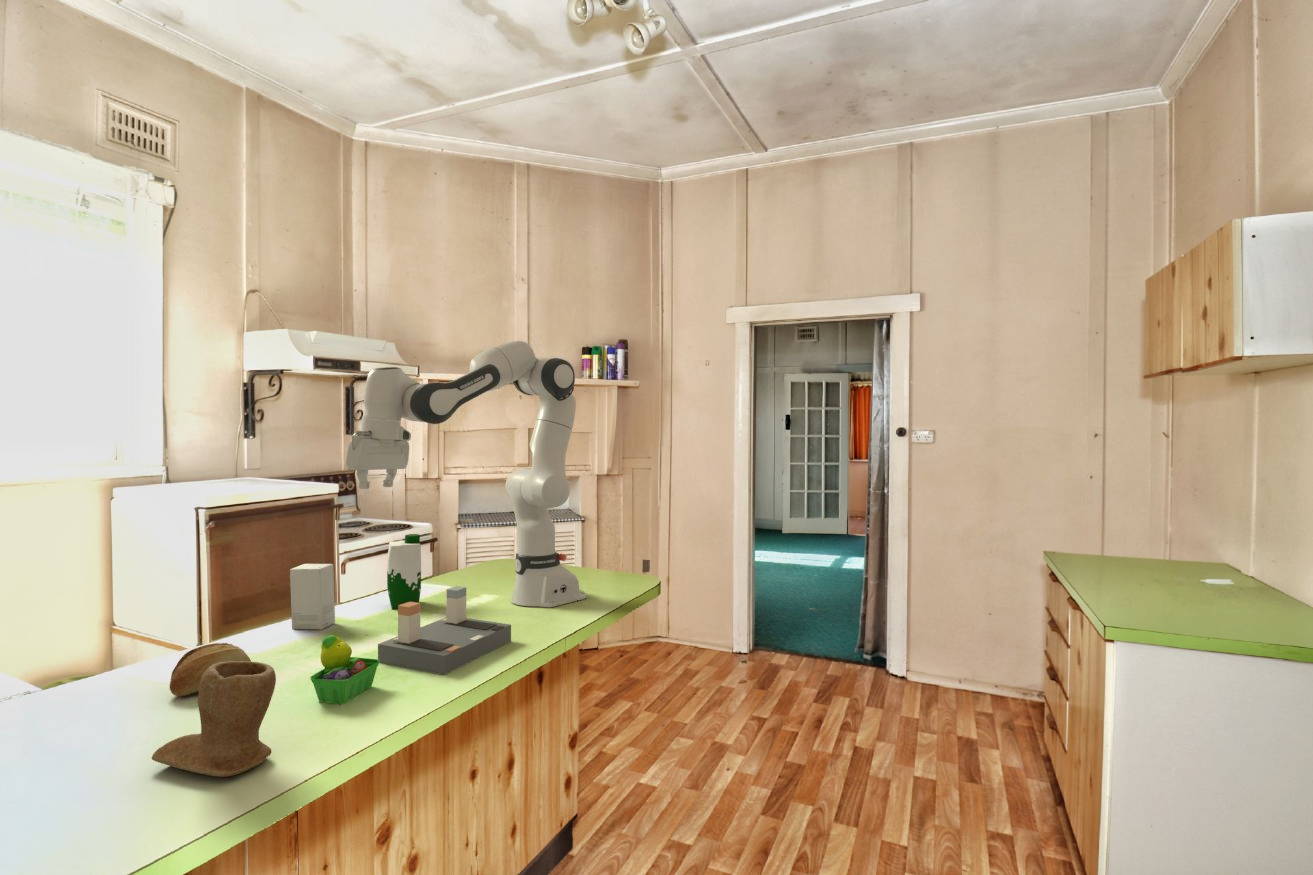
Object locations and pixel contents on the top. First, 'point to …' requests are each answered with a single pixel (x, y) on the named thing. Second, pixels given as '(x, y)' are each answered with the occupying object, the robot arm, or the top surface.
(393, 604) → the milk carton
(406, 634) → the switch
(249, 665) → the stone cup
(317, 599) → the skincare box
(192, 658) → the bread roll
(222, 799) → the top surface
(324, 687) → the fruit basket
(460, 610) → the switch
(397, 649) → the console
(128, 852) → the top surface
